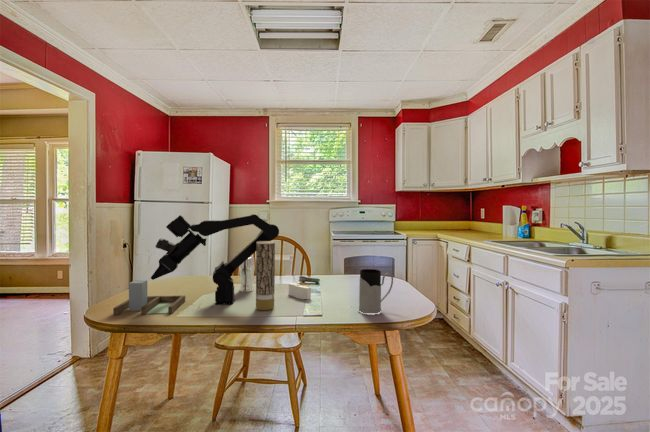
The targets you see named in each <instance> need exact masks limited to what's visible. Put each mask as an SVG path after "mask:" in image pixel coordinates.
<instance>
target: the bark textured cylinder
mask: <svg viewBox="0 0 650 432" xmlns="http://www.w3.org/2000/svg"><path fill="white" fill-rule="evenodd" d="M255 253H256V254H255V257H256V258H255V262H256V263H255V308H256V309H257V310H258V311H263V312H264V311H271V310H273V309H274V308H275V281H276V280H275V279H276V278H275V277H276V275H275V269H276V268H275V267H276V264H275V262H276V256H275V255H276V242H275V241H273V240H271V241H257V243H256V252H255Z"/></svg>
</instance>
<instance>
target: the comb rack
mask: <svg viewBox="0 0 650 432" xmlns="http://www.w3.org/2000/svg"><path fill="white" fill-rule="evenodd" d="M184 303H186V295H183V294H182V295H147V304H146V305H144V306H143V307H141V311H140V312H141V314H140V315H142V316H143V315H162V314H163V315H166V314H167V315H173V314H174V313H175V312H176V311H177V310H178V309H179V308H180V307H181V306H183V305H184ZM126 310H129V298H128V299H127V300H125V301H123V302H121V303H120V304H118V305H116V306H115V307H113V316H118V315H120V314H121V313H123V312H125V311H126Z"/></svg>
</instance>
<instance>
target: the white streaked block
mask: <svg viewBox="0 0 650 432" xmlns="http://www.w3.org/2000/svg"><path fill="white" fill-rule="evenodd" d="M255 262H256V260H255V256H250V257H249V258H248V259H247V260H246V261H244V262H243V263H242V264H241V265H240V266H239V267H238V272H239V278H240V285H239V286H240V288H239V291H240V293H241V292H243V293H249V292H253V291H254V285H253V284H254V275H255V271H256V263H255Z"/></svg>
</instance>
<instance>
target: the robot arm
mask: <svg viewBox="0 0 650 432" xmlns="http://www.w3.org/2000/svg"><path fill="white" fill-rule="evenodd" d="M251 225H253V226H255V227H256V228H257V229H259V230H260V232H259V233H258V234H257V236H256V237H255V238H254V239H253V240H252V241H251V242H249V244H247V245H246V246H245V247H244V248H242V250H241V251H239V252H238V253H237V254H236V255H235V256H234V257H232V258H231V259H230V260H228V261H227V262H224V261H223V260H222V261H221V262H220V263H219V265H218V266H216V267H215V266H214V271H213V273H212V281H213V283H214V284H216V285H217V286H216V291H214V292H215V293H214V302H215V305H233V304H234V302H235V301H236V298H235V285H234V284H235V283H234V279H233V278H232V276H233V274H234V273H235V271H236V270H237V269H239V266H240V265H241V264H242V263H243V262H244V261H246V260H247V259H248V258H249V257H252V256H253V254H254V253H256V243H257V241H273V240H275V239H276V238H277V237H278V236H279V234H280V229H279V227H278V226H277V225H276V224H272V223H269V222H267V221H265V220H264V219H262V218H260V217H259V216H258V215H257V214H249V215H246V216H240V217H234V218H233V217H232V218H229V219H228V218H227V219H223V220H216V219H215V220H202V221H201V222H200V223H199V224H195V223H192V224H190V223H189V222H188V220H186V219H185V218H184V216H182V215H178V216H177V217H175V219H174V220H172V221H170V222H169V223H168V224H167V225H165V228H166V229H167V230H168V231H169V232H171V234H172V235H174V236H175V237H176V238H179V237H180V238H182V239H181V240H180V241H179V242H176V243H173V242H171V241H169V240H167V239H166V238H159V239H158V241H157V242H156V245H155V248H157V249H160V250H162V251H165V252H166V253H165V254H163V256H162V257H160V258H159V259H158V267H157V268H156V270H155V271H154V273H153V274H152V275H151V276H150V279H151V280H152V281H153V280H156V279H158V278H160V277H163V276H165V275H168V274H171V273H173V272H175V271H176V270H177V269H178V267H179V264H181V262H183V261H184V259H186V258H187V257H188V256H190V254H191V253H192V252H193V251H194V250H195V249H196V248H197V247H199V245H203V247H205V246H206V245H207V238H203V237H209V236H212V235H214V234H217V233H219V232H222V231H224V230H230V229H235V228H240V227H245V226H251ZM194 232H195V233H197V234H195V233H194ZM186 234H187V235H186Z"/></svg>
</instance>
